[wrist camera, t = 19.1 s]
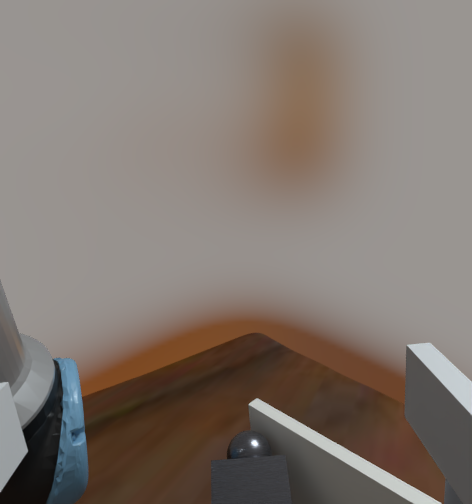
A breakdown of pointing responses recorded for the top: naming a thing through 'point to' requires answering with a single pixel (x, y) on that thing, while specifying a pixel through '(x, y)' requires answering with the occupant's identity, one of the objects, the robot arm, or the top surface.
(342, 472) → the door
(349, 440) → the top surface
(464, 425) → the robot arm
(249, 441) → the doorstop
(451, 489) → the wall frame
